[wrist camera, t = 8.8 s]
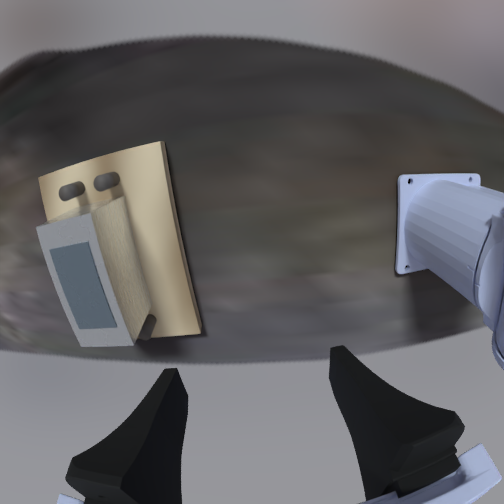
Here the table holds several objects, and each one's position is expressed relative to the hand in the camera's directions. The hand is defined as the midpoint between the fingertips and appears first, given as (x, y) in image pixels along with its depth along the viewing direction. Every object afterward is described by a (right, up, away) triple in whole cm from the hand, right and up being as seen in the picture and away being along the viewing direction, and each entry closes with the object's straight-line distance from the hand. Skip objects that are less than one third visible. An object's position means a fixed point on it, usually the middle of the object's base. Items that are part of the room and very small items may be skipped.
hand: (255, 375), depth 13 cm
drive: (-10, +5, +6) cm, 13 cm away
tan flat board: (-10, +6, +7) cm, 14 cm away
